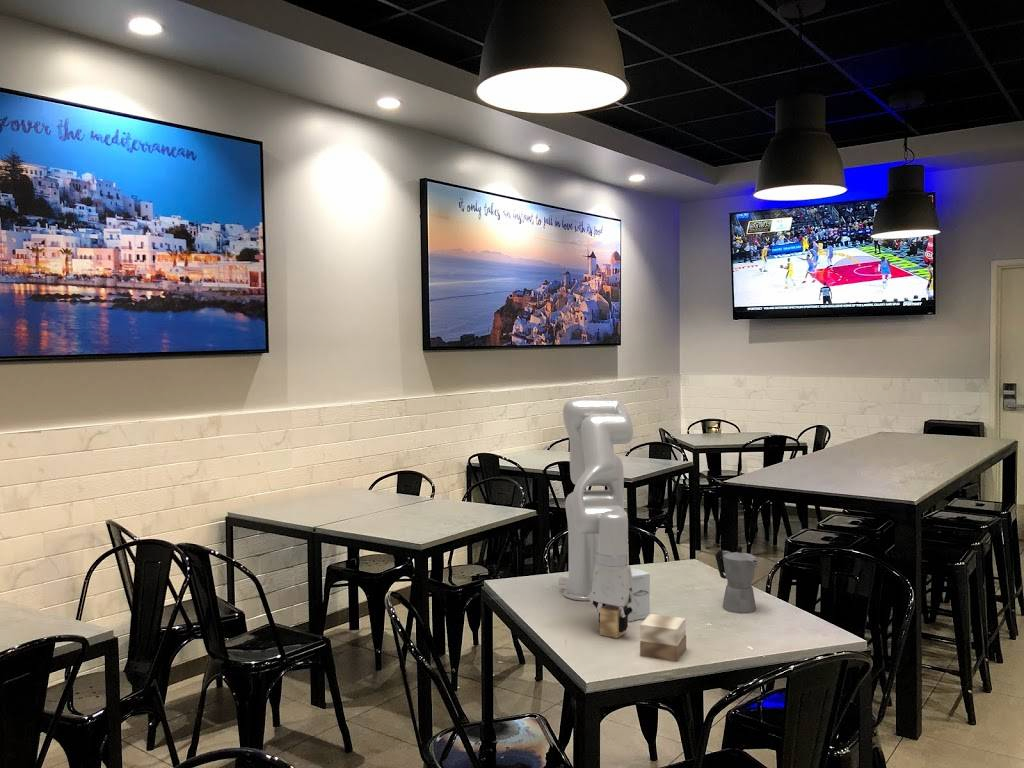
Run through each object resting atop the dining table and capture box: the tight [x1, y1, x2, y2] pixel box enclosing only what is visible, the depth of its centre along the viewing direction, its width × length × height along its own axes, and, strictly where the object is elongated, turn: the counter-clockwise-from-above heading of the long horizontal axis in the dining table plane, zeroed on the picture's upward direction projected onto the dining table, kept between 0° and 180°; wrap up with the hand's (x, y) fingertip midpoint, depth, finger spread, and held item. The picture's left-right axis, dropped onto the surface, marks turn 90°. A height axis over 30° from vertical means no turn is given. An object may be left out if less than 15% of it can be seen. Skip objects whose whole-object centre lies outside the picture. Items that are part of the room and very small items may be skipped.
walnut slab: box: [639, 634, 687, 663], centre depth 204 cm, size 9×9×4 cm
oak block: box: [599, 604, 627, 639], centre depth 217 cm, size 5×5×7 cm
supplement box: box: [628, 567, 651, 623], centre depth 231 cm, size 7×7×13 cm
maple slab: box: [639, 613, 687, 646], centre depth 204 cm, size 9×9×4 cm
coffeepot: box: [715, 545, 760, 614], centre depth 239 cm, size 15×9×18 cm, turn 33°
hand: (613, 628), depth 217 cm, fingers closed on oak block, 5 cm apart
